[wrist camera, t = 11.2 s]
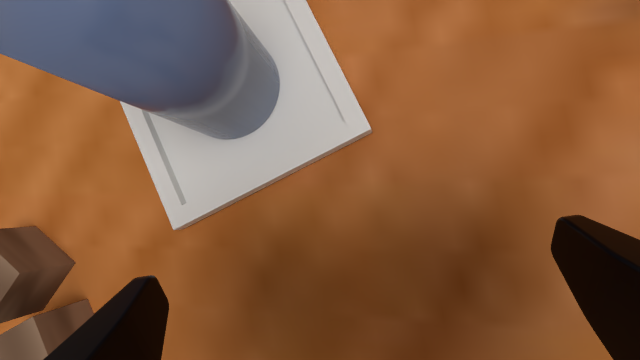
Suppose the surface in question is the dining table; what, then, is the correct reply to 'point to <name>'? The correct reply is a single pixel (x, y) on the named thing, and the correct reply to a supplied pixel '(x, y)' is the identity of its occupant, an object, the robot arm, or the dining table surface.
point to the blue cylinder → (152, 57)
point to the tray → (267, 141)
